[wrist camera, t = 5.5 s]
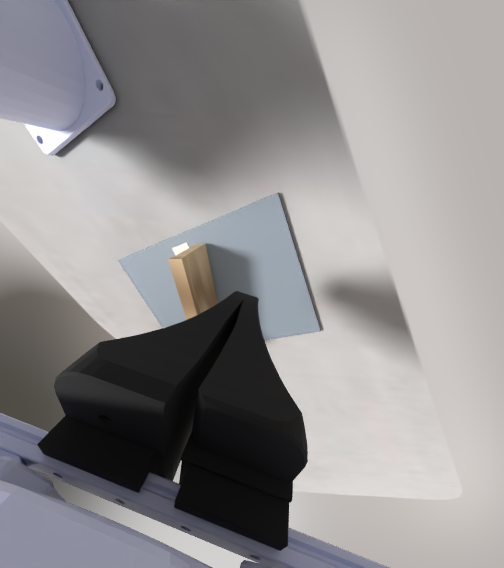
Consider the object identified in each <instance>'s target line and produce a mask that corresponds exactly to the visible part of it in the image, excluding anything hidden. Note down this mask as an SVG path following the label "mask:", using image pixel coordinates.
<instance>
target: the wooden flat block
mask: <svg viewBox="0 0 504 568" xmlns="http://www.w3.org/2000/svg"><path fill="white" fill-rule="evenodd" d="M168 261H169V265H170V268H171V271H172V275H173V278H174V281H175V284H176V288H177V291H178V294H179V297H180V301H181V304H182V307H183V310H184V314H185V317H186V320H187V319H190V318H192V317H194V316H196V315H198V314H200V313H202V312H204V311H206V310H207V309H209V308H211V307H213V306H214V305H216V304H217V303H218V300H217V295H216V291H215V286H214V281H213V277H212V272H211V267H210V263H209V258H208V253H207V249H206V244H205V243H203V244H195V245H194V246H192V247H190V248H188V249H187V250H185V251H183V252H181V253H179V254H178V255H176V256H174V257H171V258H169V259H168Z"/></svg>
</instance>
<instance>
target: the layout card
mask: <svg viewBox="0 0 504 568" xmlns="http://www.w3.org/2000/svg"><path fill="white" fill-rule="evenodd" d="M203 243H205V244H206V249H207V253H208V258H209V263H210V267H211V272H212V277H213V281H214V286H215V291H216V295H217V300H218V303H219V302H221V301H222V300H224V299H225V298H226V297H228V296H229V295H231V294H232V293H233V292H235V291H239V292H242V293H245V294H248V295H251V296H255V297H258V299H259V302H258V312H259V320H260V325H261V330H262V334H263V338H264V340H269V339H276V338H282V337H288V336H294V335H301V334H307V333H313V332H320V327H319V323H318V320H317V317H316V314H315V311H314V307H313V304H312V301H311V298H310V294H309V291H308V288H307V285H306V282H305V278H304V275H303V272H302V269H301V265H300V262H299V259H298V256H297V252H296V249H295V246H294V243H293V240H292V236H291V233H290V230H289V227H288V223H287V220H286V217H285V214H284V210H283V207H282V204H281V201H280V198H279V194H278V193H276V194H273V195H271V196H269V197H266V198H264V199H261V200H259V201H257V202H254V203H252V204H250V205H247V206H245V207H243V208H240V209H238V210H235V211H233V212H231V213H228V214H226V215H224V216H221V217H219V218H217V219H214V220H212V221H209V222H207V223H205V224H202V225H200V226H198V227H195V228H193V229H191V230H188V231H186V232H184V233H181V234H179V235H176V236H174V237H172V238H169V239H167V240H165V241H162V242H160V243H158V244H155V245H153V246H150V247H148V248H146V249H143V250H141V251H139V252H136V253H134V254H132V255H129V256H127V257H124V258H122V259H120V260H118V261H119V263H120V264H121V266H122V267H123V269H124V270H125V272H126V273H127V275H128V276H129V278H130V279H131V281H132V283H133V284H134V286H135V287H136V289H137V290H138V292H139V293H140V295H141V296H142V298H143V299H144V301H145V302H146V304H147V305H148V307H149V308H150V310H151V311H152V313H153V314H154V316H155V317H156V319H157V320H158V322H159V323H160V325H161V326H162V328H165V327H168V326H171V325H174V324H177V323H180V322H183V321H185V320H186V317H185V314H184V310H183V307H182V304H181V301H180V297H179V294H178V291H177V288H176V284H175V281H174V278H173V275H172V271H171V268H170V265H169V261H168V259H169V258H171V257H174V256H176V255H178V254H179V253H181V252H183V251H185V250H187V249H188V248H190V247H192V246H194V245H195V244H203Z"/></svg>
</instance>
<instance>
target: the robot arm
mask: <svg viewBox="0 0 504 568" xmlns="http://www.w3.org/2000/svg"><path fill="white" fill-rule="evenodd" d="M101 84H103V90H102V88H101ZM115 102H116V97H115V94H114V91H113V89H112V87H111V86H110V84H109V82H108V80H107V78H106V76H105V74H104V72H103V70H102V68H101V66H100V64H99V62H98V60H97V58H96V56H95V54H94V52H93V50H92V48H91V46H90V44H89V42H88V40H87V38H86V36H85V34H84V32H83V30H82V28H81V26H80V24H79V22H78V20H77V18H76V16H75V14H74V12H73V10H72V8H71V6H70V4H69V2H68V0H0V118H2V119H6V120H11V121H15V122H20V123H24V124H25V126H26V127H27V129H28V130H29V132H30V133H31V135H32V136H33V138H34V139H35V141H36V142H37V144H38V145H39V147H40V148H41V150H42V151H43V152H44V153H45V154H46V155H55V154H56V153H57V152H58V151H60V150H61V149H62V148H63V147H64V146H66V145H67V144H68V143H69V142H70V141H72V140H73V139H74V138H75V137H76V136H78V135H79V134H80V133H81V132H82V131H84V130H85V129H86V128H87V127H89V126H90V125H91V124H92V123H93V122H95V121H96V120H97V119H98V118H99V117H101V116H102V115H103V114H104V113H105V112H107V111H108V110H109V109H110V108H111V107H113V106H114V104H115ZM258 302H259V299H258V297H255V296H251V295H248V294H245V293H242V292H239V291H235V292H233V293H232V294H231V295H229V296H228V297H226V298H225V299H224V300H222V301H221V302H219V303H217V304H216V305H214V306H213V307H211V308H209V309H207V310H206V311H204V312H202V313H200V314H198V315H196V316H194V317H192V318H190V319H187V320H185V321H183V322H180V323H177V324H174V325H171V326H168V327H165V328H162V329H159V330H155V331H152V332H148V333H144V334H140V335H135V336H131V337H126V338H120V339H115V340H110V341H103V342H100V343H98V344H97V345H96V346H94V347H93V348H92V349H91V350H89V351H88V352H86V353H85V354H84V355H83V356H81V357H80V358H79V359H78V360H76V361H75V362H74V363H73V364H72V365H70V366H69V367H68V368H67V369H65V370H64V371H63V372H62V373H60V374H59V375H58V376H57V377H56V379H55V384H54V388H55V391H56V394H57V397H58V399H59V401H60V403H61V406H62V408H63V410H64V412H65V414H66V416H65V417H64V418H63V419H62V420H61V421H60V422H59V423H58V424H57V425H56V426H55V427H54V428H53V429H52V430H51V431H50V432H47V431H44V430H42V429H39V428H37V427H34V426H32V425H29V424H27V423H24V422H22V421H19V420H17V419H14V418H12V417H9V416H7V415H4V414H2V413H0V568H212V567H210V566H208V565H206V564H204V563H202V562H200V561H198V560H196V559H194V558H192V557H190V556H188V555H186V554H184V553H182V552H180V551H178V550H176V549H174V548H172V547H169V546H168V545H166V544H164V543H162V542H160V541H157V540H155V539H153V538H151V537H149V536H146V535H144V534H142V533H140V532H138V531H135V530H133V529H131V528H129V527H127V526H124V525H122V524H120V523H117V522H115V521H113V520H110V519H108V518H105V517H103V516H100V515H98V514H96V513H93V512H91V511H88V510H86V509H83V508H81V507H78V506H75V505H73V504H70V503H67V502H66V501H65V500H64V499H63V498H62V497H61V496H60V495H59V494H58V493H57V491H56V490H55V489H54V486H53V483H52V481H51V480H49V479H47V478H45V477H44V476H42V475H40V474H39V473H37V472H35V471H34V470H36V471H39V472H41V473H44V474H46V475H49V476H51V477H53V478H56V479H58V480H61V481H63V482H65V483H68V484H70V485H72V486H75V487H77V488H80V489H82V490H84V491H87V492H89V493H92V494H94V495H97V496H99V497H101V498H104V499H106V500H108V501H111V502H113V503H116V504H118V505H121V506H123V507H125V508H128V509H130V510H133V511H135V512H137V513H140V514H142V515H145V516H147V517H149V518H152V519H154V520H157V521H159V522H161V523H164V524H166V525H169V526H171V527H173V528H176V529H178V530H181V531H183V532H185V533H188V534H190V535H193V536H195V537H197V538H200V539H202V540H205V541H207V542H209V543H212V544H214V545H217V546H219V547H222V548H224V549H226V550H229V551H231V552H233V553H236V554H238V555H241V556H243V557H245V558H248V559H251V560H253V561H255V562H257V563H255V562H251V561H246V560H244V561H243V562H242V563H241V566H240V568H389V567H387V566H384V565H381V564H379V563H377V562H374V561H371V560H369V559H366V558H364V557H361V556H359V555H356V554H354V553H351V552H349V551H346V550H344V549H341V548H339V547H336V546H334V545H331V544H329V543H326V542H324V541H321V540H319V539H316V538H314V537H311V536H308V535H306V534H304V533H301V532H298V531H296V530H293V529H291V528H288V522H289V502H291V501H292V491H293V480H294V479H295V478H296V477H297V475H298V474H299V473H300V472H301V471H302V470H303V469H304V468H305V466H306V464H307V462H308V460H307V454H308V452H307V440H306V433H305V427H304V422H303V417H302V413H301V411H300V410H299V408H298V407H297V405H296V404H295V402H294V401H293V399H292V397H291V396H290V394H289V393H288V391H287V389H286V388H285V386H284V384H283V382H282V380H281V379H280V377H279V374H278V372H277V370H276V368H275V366H274V364H273V362H272V360H271V357H270V355H269V352H268V350H267V347H266V344H265V341H264V338H263V334H262V330H261V325H260V320H259V312H258ZM181 460H182V465H181V473H180V482H179V484H178V483H175V482H173V479H174V476H175V473H176V471H177V468H178V466H179V463H180V461H181ZM30 468H32V469H34V470H32V469H30ZM259 563H260V564H259Z"/></svg>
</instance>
